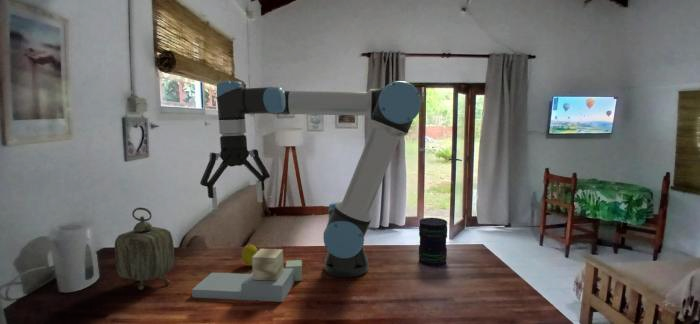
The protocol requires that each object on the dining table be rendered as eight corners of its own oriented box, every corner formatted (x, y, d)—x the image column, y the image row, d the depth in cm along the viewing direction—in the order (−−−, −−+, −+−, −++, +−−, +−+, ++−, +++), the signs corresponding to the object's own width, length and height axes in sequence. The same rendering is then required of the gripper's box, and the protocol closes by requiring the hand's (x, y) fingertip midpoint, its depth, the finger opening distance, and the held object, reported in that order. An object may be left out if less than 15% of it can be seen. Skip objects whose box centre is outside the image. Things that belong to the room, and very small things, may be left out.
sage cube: (301, 274, 123) (301, 259, 122) (302, 280, 118) (301, 265, 118) (286, 275, 122) (286, 260, 122) (286, 281, 117) (285, 266, 117)
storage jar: (450, 260, 134) (451, 219, 132) (441, 269, 126) (442, 226, 124) (424, 254, 139) (424, 216, 138) (414, 263, 131) (414, 222, 129)
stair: (294, 283, 116) (293, 268, 116) (282, 301, 104) (282, 285, 104) (212, 279, 119) (211, 265, 119) (192, 297, 107) (191, 281, 107)
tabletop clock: (176, 283, 117) (171, 205, 114) (154, 296, 108) (148, 213, 105) (139, 278, 121) (133, 203, 118) (114, 290, 112) (108, 210, 109)
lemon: (254, 269, 127) (253, 247, 126) (239, 268, 128) (238, 246, 127) (261, 263, 132) (260, 241, 131) (246, 262, 133) (245, 241, 132)
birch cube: (283, 271, 113) (282, 249, 113) (276, 281, 106) (275, 257, 106) (261, 270, 114) (260, 248, 113) (253, 280, 107) (252, 257, 106)
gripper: (268, 132, 120) (272, 196, 122) (185, 137, 106) (191, 209, 108) (277, 132, 113) (281, 200, 116) (190, 137, 100) (197, 214, 102)
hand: (238, 205), depth 112 cm, fingers open, 13 cm apart
